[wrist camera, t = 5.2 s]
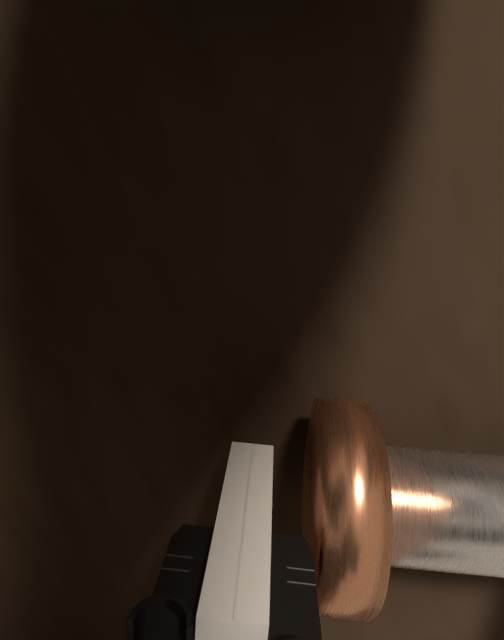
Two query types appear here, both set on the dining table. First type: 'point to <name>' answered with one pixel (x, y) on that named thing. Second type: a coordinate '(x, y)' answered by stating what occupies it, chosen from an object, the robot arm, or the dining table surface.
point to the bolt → (392, 509)
